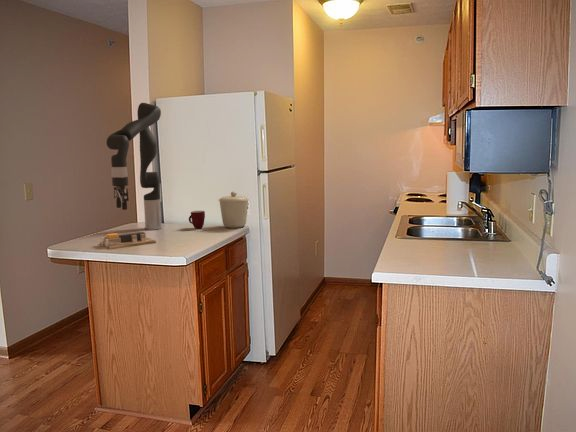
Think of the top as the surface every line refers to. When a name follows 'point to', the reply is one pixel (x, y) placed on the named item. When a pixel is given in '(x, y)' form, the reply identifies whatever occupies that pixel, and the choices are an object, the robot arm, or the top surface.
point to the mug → (197, 219)
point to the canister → (234, 210)
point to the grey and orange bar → (124, 236)
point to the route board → (117, 242)
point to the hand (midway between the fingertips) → (121, 208)
